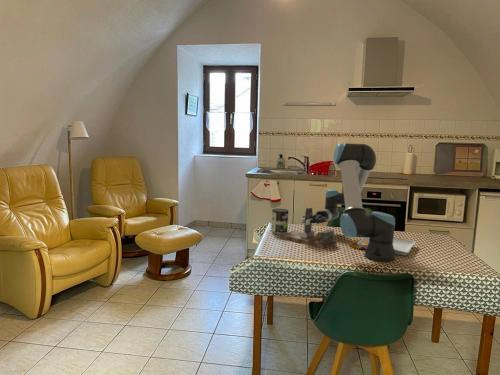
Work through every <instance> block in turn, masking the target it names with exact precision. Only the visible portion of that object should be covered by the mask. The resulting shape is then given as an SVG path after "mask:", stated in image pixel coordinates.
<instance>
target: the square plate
mask: <svg viewBox="0 0 500 375" xmlns="http://www.w3.org/2000/svg"><path fill="white" fill-rule="evenodd" d="M369 238H370V237H362V239H360V240H359V241H358V242H357V243H356V244H357V246H358V247H359V248H362V247H365V248H364V249H366V247H367V245H363V244H362V243H364V242H369ZM415 244H417V241H416V240H411V239H406V238H400V237H395V236H394V237H393V247H394V252H395V255H400V256H405V255H408V254H409V253H410V252H411V250H412V248H413V246H414V245H415Z"/></svg>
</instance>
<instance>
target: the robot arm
mask: <svg viewBox="0 0 500 375" xmlns="http://www.w3.org/2000/svg"><path fill="white" fill-rule="evenodd" d="M332 161H333V163H334V165H337V168H338V170H340V171H341V172H340V173H341V174H340V175H341V180H342V181H341V182H342V190H343V192H339V190H338V189H335V188H334V189H331V188H330V189H326V192H325V196H324V197H325V199H324V200H325V201H324V202H325V203H324V204H325V205H324V209H322V210H317V211H316V212H315V214H312V219H308V220H306V225H308V224H312V225H313V224H317V225H319V224H324V223H326V222H329V221H334V220H336V219H337V218H338V217H339V216H340V217H339V225H340V230H341V233H342V234H343V235H344V236H345V237H348V238H364V237H370V238H369V243H368V245H367V247H366V248H365V250H364V257H365V258H367V259H369V260H372V261H376V262H387V263H390V262H394V261H395V260H396V254H395V252H394V247H393V237H395V236H394V235H395V227H396V218H395V217H394V216H393V215H392V214H389V213H385V212H381V211H371V214H367V210H366V208H364V207H363V201H362V195H361V192H362V191H363V189H364V186H365V184H366V182H367V179H368V178H369V175H370V174H371V171H372V170H374V168H375V166H376V163H377V155H376V153H375V151H374V149H373V147H371V146H370V145H368V144H365V143H350V142H349V143H346V142H340V143H337V144H336V146H335V148H334V152H333V158H332ZM338 206H344V207H345V209H344V210H343V211H342V213H341V215H340V211H339V209H338ZM299 219H300V221H299V223H300V224H305V215H303V216H302V218H299Z"/></svg>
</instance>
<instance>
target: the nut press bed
mask: <svg viewBox="0 0 500 375" xmlns="http://www.w3.org/2000/svg"><path fill="white" fill-rule="evenodd" d="M301 232H302V231H301ZM301 232H300V231H297V230H296V231H295V230H293V231H288V232H287V233H285V234H280V235H281V239H284V240H287V241H291V242H292V241H293V242H295V243H300V244H304V245H309V246H312V247H313V246H314V247H318V248H322V249H325V248H328V247H331V246H332V245H336V241H337V240H336V239H334V236H335V234H334V233H335V230H334V229H330V228H329V229H326V230H323V231H320V232H317V233H315V234H314V236H313V237H310V238H307V239H305V238H301Z"/></svg>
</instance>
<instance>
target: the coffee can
mask: <svg viewBox="0 0 500 375" xmlns="http://www.w3.org/2000/svg"><path fill="white" fill-rule="evenodd" d="M288 224H289V209H287V208H286V209H285V208H273V209H272V210H271V233H273V234H277V235H283V234H286V233H288V228H289V227H288V226H289V225H288Z"/></svg>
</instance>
